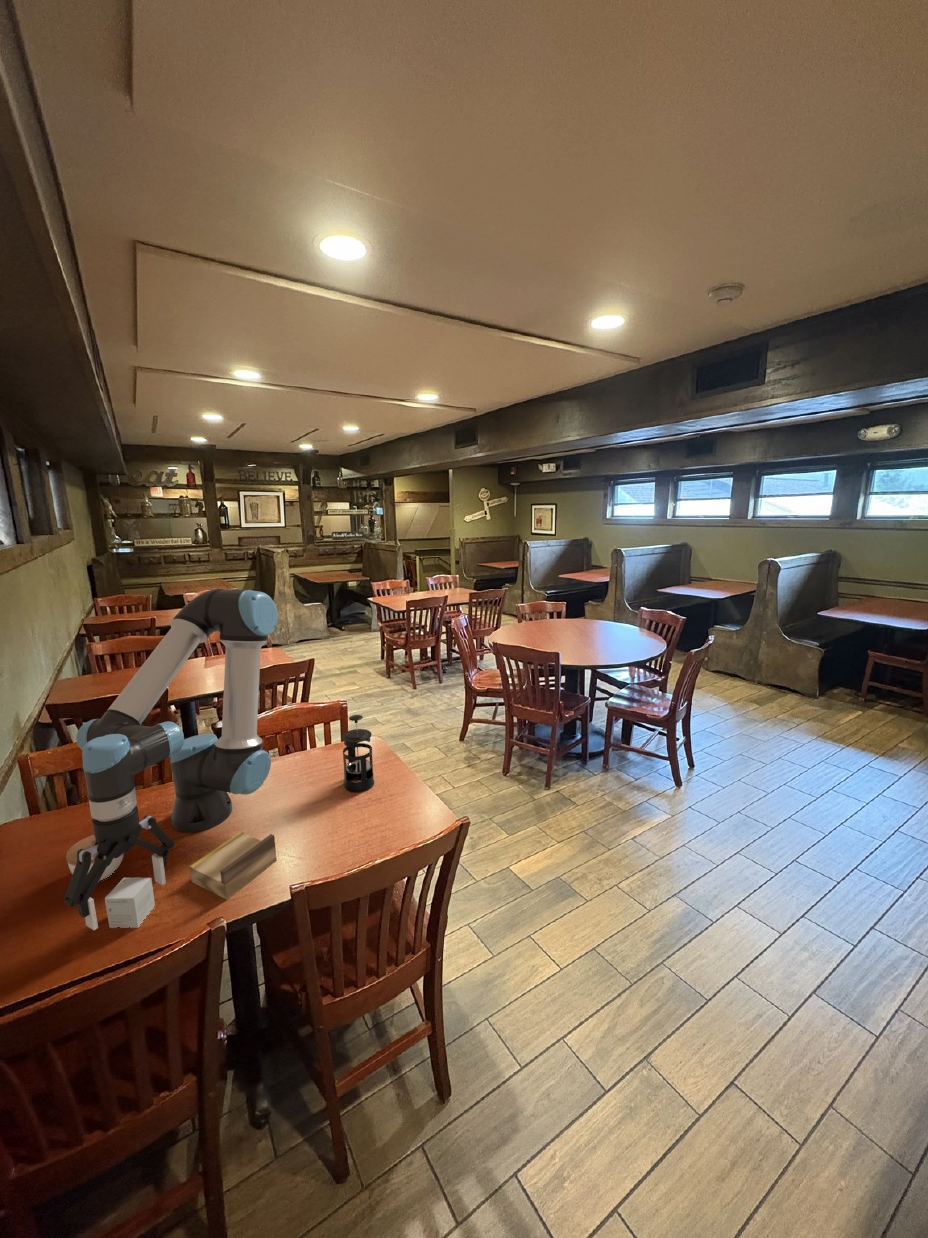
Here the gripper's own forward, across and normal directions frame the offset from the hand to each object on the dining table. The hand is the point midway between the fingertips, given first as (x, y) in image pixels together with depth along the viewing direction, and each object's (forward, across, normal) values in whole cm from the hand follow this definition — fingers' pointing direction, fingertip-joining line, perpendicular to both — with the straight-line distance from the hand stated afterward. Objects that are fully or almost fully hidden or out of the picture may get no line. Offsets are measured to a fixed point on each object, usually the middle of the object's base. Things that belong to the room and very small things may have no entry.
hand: (128, 903), depth 102 cm
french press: (+3, +64, -10) cm, 64 cm away
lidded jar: (+4, +5, +20) cm, 21 cm away
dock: (+3, +20, -8) cm, 21 cm away
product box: (+4, +1, 0) cm, 4 cm away
